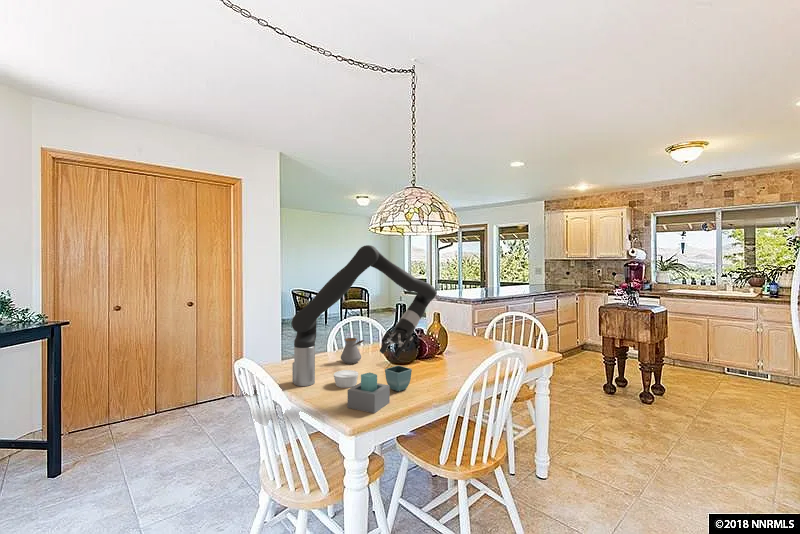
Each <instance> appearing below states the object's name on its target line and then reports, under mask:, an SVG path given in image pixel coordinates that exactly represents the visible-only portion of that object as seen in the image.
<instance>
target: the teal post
mask: <svg viewBox="0 0 800 534" xmlns="http://www.w3.org/2000/svg"><path fill="white" fill-rule="evenodd" d="M360 383H361V390H363V391H369V392H374V391H375V390H377V383H378V374H377V373H373V372H366V373H362V374H360Z"/></svg>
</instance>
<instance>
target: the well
mask: <svg viewBox="0 0 800 534" xmlns="http://www.w3.org/2000/svg"><path fill="white" fill-rule="evenodd" d="M390 391H391V389H390V385H388V384H386V383H385V384H384V383H378V382H377V390H375V391H374V392H369V391H363V390H361V382H358V384H356V385H355V386H353V387H349V388H348V389H347V405H346V406H347V409H351V408H352V409H351V410H356V411H357V410H358V411H360V412H361V411H362V412H367V413H372V414H376V413H377V412H379V411H380V410H381V409H383V408H384V407H386V406H388V404H390V400H391V399H390V398H391V397H390V395H391V394H390Z"/></svg>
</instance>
